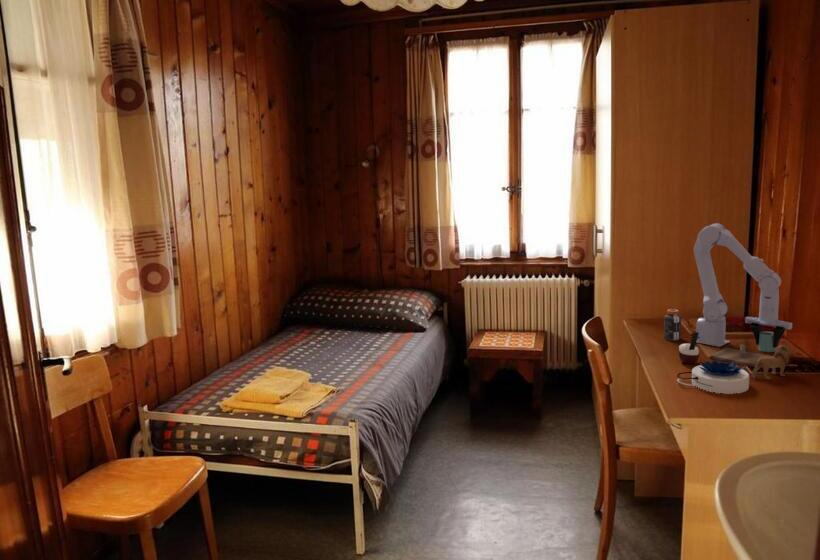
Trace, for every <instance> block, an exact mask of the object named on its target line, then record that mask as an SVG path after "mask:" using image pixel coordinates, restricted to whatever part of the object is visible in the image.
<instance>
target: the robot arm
mask: <svg viewBox="0 0 820 560" xmlns="http://www.w3.org/2000/svg"><path fill="white" fill-rule="evenodd" d="M715 245H718V246H723V247H726V248H727V249H729V250H730V251H731V252H732V253H733V254H734V255H735V256H736V258H738V259H740V261H742V263H743V267H742V268H743V270H745V271H746V272H747V273H748V274H749V275H750V276H751V277H752V278H753V279H754V280H755V281H756V282H758V288H759V289H760V295H759V310H758V311H759V313H758V317H753V316H746V317H745V318H744V322H745V324H750V326H749V328H750V330H751V331H752V334H753V336H754V339H755V345H757V346H759V333H760V332H763V326H767V327H774V328H772V331H773V333H774V343H773V348H775V349H776V347H777V346H779V345H780V340H781V339H782V336H783V335H784V333H785V331H786V330H792V329H793V322H789V321H784V320H779V307H780V306H779V305H780V304H779V303H780V295H779V294H780V291H779V290H780V288H779V287H780V286H781V284H782V279H781V277H780V276H779V274H778V273H776V272H775V271H774V270H773V269H770V268H769V267H768V265H766V263H764V261H765V259H763V258H759V257H758V256H753V255H751V254H750V253H749V252H748V250H747V249H746V248H745V247H744V246H743V245H742V244H741V242H739V240H738V239H737V238H736V237H735V236H734V235H733V233H732V232H731V231H730V230H729V229H727V228H726V227H725V226H724V225H723V224H721V223H719V222H717V223H716V222H715V223H712V224H710V225H707V226H704V227H702V229H701V230H700V231H699V232H698V233H697V238H696V240H695V243H694V246H693V255H694V259H695V263H696V267H697V271H698V275H699V276H698V277H699V279H700V285H701V288H702V293H703V298H702V299H703V300H702V305H703V309H702V316H703V317H699V318H698V319H697V321H696V323H695V332H698V333H699V334H698V338H697V342H696V344H703V345H709V346H714V347H719V348H721V347H722V346H724V345H727V344H729V343H730V340H726V328H727V327H726V321H727V319H726V316H725V314H727V312H728V307H729V306H728V305H727V303H726V302H725V301H724V299H723V295H722V294H721V293H720V290H719V285H718V283H717V276H716V274H715V270H714V265H713V261H712V256H711V250H712V248H714V246H715Z"/></svg>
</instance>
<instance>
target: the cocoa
mask: <svg viewBox="0 0 820 560" xmlns="http://www.w3.org/2000/svg"><path fill="white" fill-rule="evenodd" d="M692 333H693V334H692V337H691V340H690V343H681V344H680V345H679V346H678V355H679V360H680V361H681V362H682V363H684V364H685V365H686V364H687V365H694V364H696V363H697V362H698V361H699V358H700V349H699V347H698V346H696V345H697V338H698V334H699V333H698V332H696V331H694V332H692Z"/></svg>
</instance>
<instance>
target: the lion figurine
mask: <svg viewBox="0 0 820 560" xmlns="http://www.w3.org/2000/svg"><path fill="white" fill-rule="evenodd" d="M771 356H772V357H760V358H759V359H758V360H757V363H756V366H755V367H754V368H753V370H752V373H751V377H752V378H753V380H757V378H758V375H757V373H758V371H759V370H760V369H761V368H760V367H761V366H762V370H763V376H764V377H765V379H766V380H771V379H772V377H770V376H769V375H768V372H769V370H770V369H772V370H771V374H772V375H777V368H778V367H779V368H780V372H779V374H780V376H781V377H785V376H786V375H785V374H784V371H785V367H786V365H787V364H788V363H789V361H790V349H789V348H788V347H787V346H786V345H783V344H782V345H781V344H779V345H778V346H777V347H776V348H775V351H774V355H771Z"/></svg>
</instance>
